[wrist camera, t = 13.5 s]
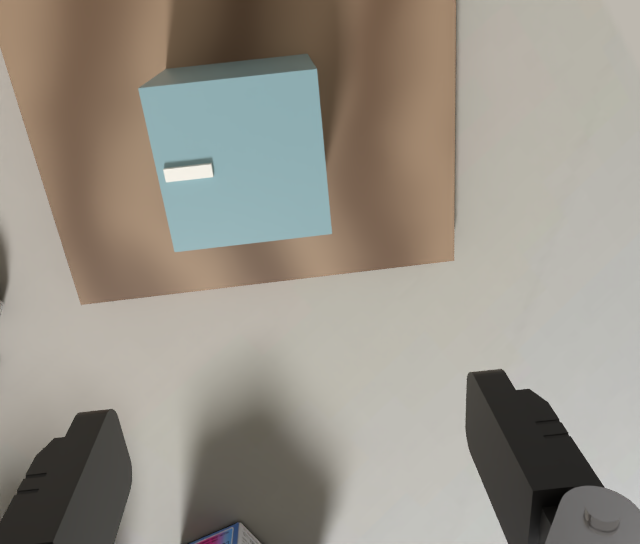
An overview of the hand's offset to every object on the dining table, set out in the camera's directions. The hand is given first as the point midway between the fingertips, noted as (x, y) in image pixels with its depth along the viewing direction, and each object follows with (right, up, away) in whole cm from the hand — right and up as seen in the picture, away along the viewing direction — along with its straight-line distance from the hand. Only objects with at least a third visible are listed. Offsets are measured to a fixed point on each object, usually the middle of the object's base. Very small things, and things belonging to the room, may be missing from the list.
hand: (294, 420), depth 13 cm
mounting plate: (-3, +11, +16) cm, 19 cm away
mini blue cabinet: (-3, +10, +14) cm, 18 cm away
